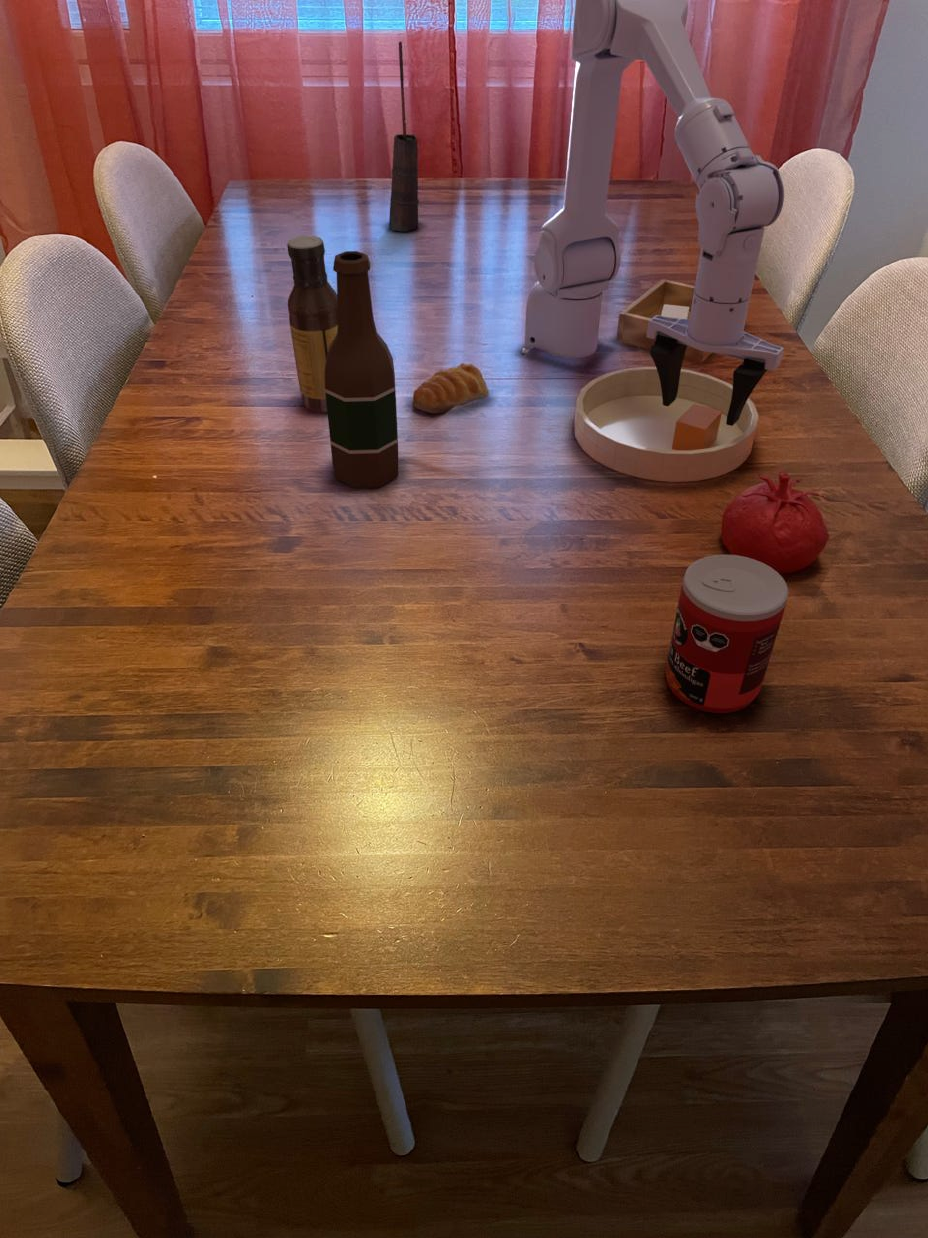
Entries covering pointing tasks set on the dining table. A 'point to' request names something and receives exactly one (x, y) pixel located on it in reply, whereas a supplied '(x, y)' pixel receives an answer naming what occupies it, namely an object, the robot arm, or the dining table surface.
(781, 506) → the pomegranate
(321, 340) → the sauce bottle
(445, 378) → the pastry
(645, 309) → the holder
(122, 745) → the dining table surface
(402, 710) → the dining table surface
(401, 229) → the butter churn
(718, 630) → the canned food
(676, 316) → the beige wooden cube
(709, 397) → the bowl
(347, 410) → the beer bottle
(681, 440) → the orange wooden cube
